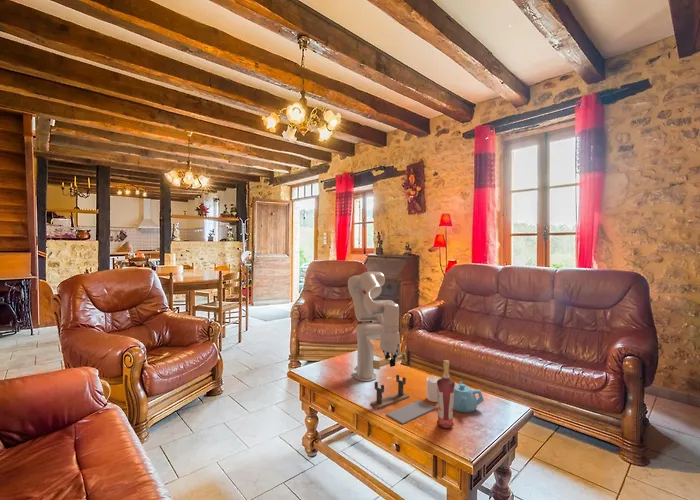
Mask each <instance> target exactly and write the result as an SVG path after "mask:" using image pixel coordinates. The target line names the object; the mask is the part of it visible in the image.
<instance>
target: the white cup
mask: <svg viewBox="0 0 700 500" xmlns="http://www.w3.org/2000/svg"><path fill="white" fill-rule="evenodd" d="M439 379H441V377H438V376H427V377H426V382H425V383H426V396H427V397H426V398H427V400H428V401H429V402H433V403H438V396H437V381H438V380H439Z"/></svg>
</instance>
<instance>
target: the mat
mask: <svg viewBox="0 0 700 500" xmlns="http://www.w3.org/2000/svg"><path fill="white" fill-rule="evenodd" d="M435 410H437V407H436V406H433V405H431V404H429V403H427V402H425V401H423V400H421V399H419V400H416V401H414V402H411V403H409V404H407V405H405V406H402V407H400V408H397V409H395V410H393V411H390V412H388V413H386V416H388V417H389V418H390V419H392V420H394V421H396V422H398V424H399V423H400V424H401V425H405V424H407V423H409V422H411V421H413V420H416V419H417V418H419V417H422V416H424V415H426V414H428V413H430V412H432V411H435Z"/></svg>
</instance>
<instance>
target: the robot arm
mask: <svg viewBox="0 0 700 500" xmlns="http://www.w3.org/2000/svg"><path fill="white" fill-rule="evenodd" d="M385 282H386V278H385V275H384V274H383V273H382V271H365V272H362V273H361V274H360V275H353V276H350V277H349V278H348V280H347V289H348V291H349V292H348V293H349V294H350V296H351V299H352V303H353V309H354V313H355V314H354V315H355V318H356V320H357V321H358V322H362V323H359V324H357V326H356V327H355V333H356V341H357V356H356V357H357V365H356V366H355V367H354V371H356V373H355V374H354V378H355V380H357V381H359V382H372V381H375V380H376V379H377V374H376V373H375V371H374V370H375V369H373V360H375V347H374V345H373V343H372V342H371V340H377V339H378V340H379V341H380V342H379V348H380V350H381V351H382V352H383V356H384V359H387V358H390V357H391V359H390V364H389V367H390V368H392V367H395V366H396V362H395V359H396V358H397V356H400V355H401V353H402V352H401V334H400V332H399V329H400V323H399V322H400V321H399V319H400V306H399V304H398V303H396V302H395V301H393V300H391V299H380V300H379V299H377V300H374V299H376V298H378V297H380V295H381V294H382V291H383V288H382V287H383V286H384V285H385ZM362 290H364V291H365V294H364V292H363V291H362ZM371 321H373V322H371Z"/></svg>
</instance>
